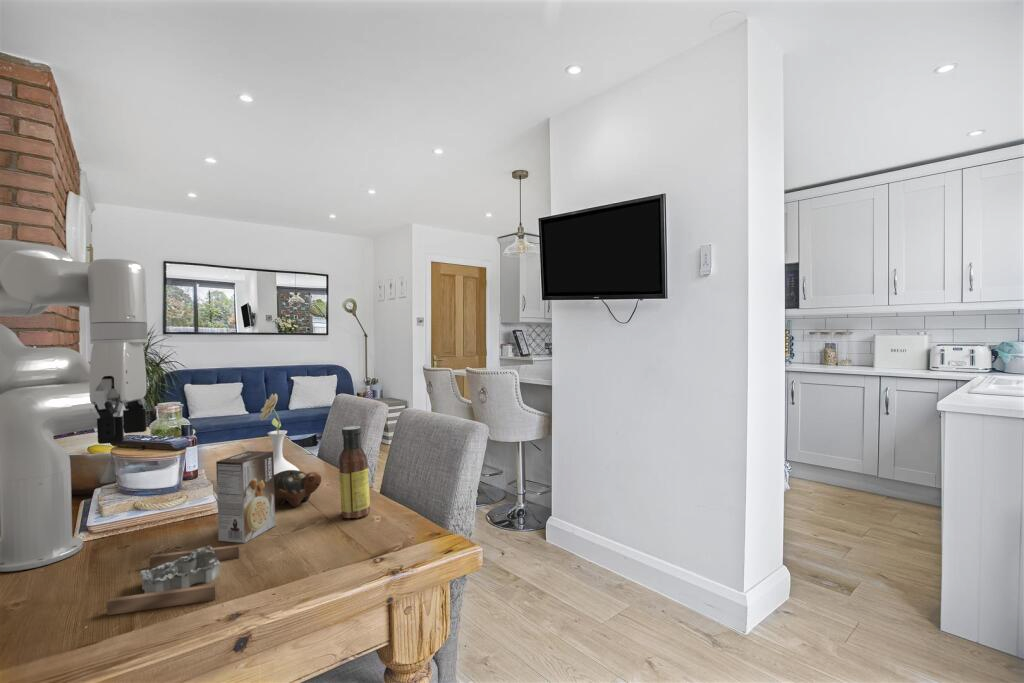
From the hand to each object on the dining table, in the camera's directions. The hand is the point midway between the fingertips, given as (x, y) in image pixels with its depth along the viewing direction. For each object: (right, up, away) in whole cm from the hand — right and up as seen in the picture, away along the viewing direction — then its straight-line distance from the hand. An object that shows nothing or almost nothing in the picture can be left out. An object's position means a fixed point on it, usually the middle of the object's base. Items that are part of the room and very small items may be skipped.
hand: (123, 437), depth 83 cm
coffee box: (+10, -24, +19) cm, 32 cm away
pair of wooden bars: (+10, -24, -1) cm, 26 cm away
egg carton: (+10, -24, -1) cm, 26 cm away
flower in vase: (0, -23, +55) cm, 60 cm away
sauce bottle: (+29, -23, +29) cm, 48 cm away
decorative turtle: (+11, -24, +37) cm, 46 cm away
